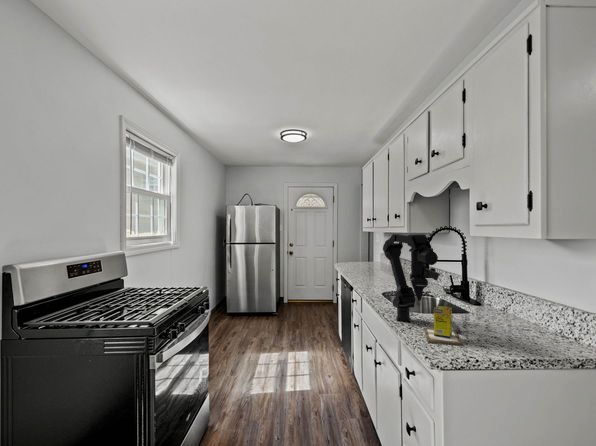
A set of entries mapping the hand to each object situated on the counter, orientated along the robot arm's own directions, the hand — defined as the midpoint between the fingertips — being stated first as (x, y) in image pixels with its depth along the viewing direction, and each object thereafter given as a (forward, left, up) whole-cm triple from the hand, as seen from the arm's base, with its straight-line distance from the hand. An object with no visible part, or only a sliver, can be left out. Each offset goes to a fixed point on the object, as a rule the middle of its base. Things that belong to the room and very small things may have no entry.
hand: (418, 298), depth 142 cm
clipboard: (+10, +8, -13) cm, 18 cm away
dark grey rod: (-3, +15, -12) cm, 19 cm away
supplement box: (+10, +8, -12) cm, 18 cm away
